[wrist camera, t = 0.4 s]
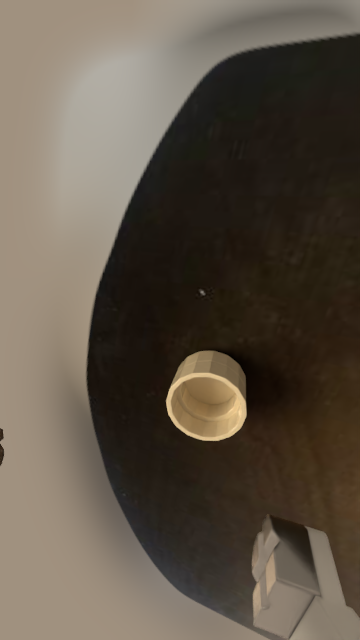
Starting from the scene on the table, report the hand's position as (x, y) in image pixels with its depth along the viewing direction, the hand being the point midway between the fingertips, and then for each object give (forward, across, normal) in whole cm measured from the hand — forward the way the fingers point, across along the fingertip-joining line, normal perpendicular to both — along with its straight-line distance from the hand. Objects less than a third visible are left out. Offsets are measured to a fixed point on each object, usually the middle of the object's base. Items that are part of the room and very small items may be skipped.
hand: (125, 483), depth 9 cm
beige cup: (+18, -2, +7) cm, 20 cm away
